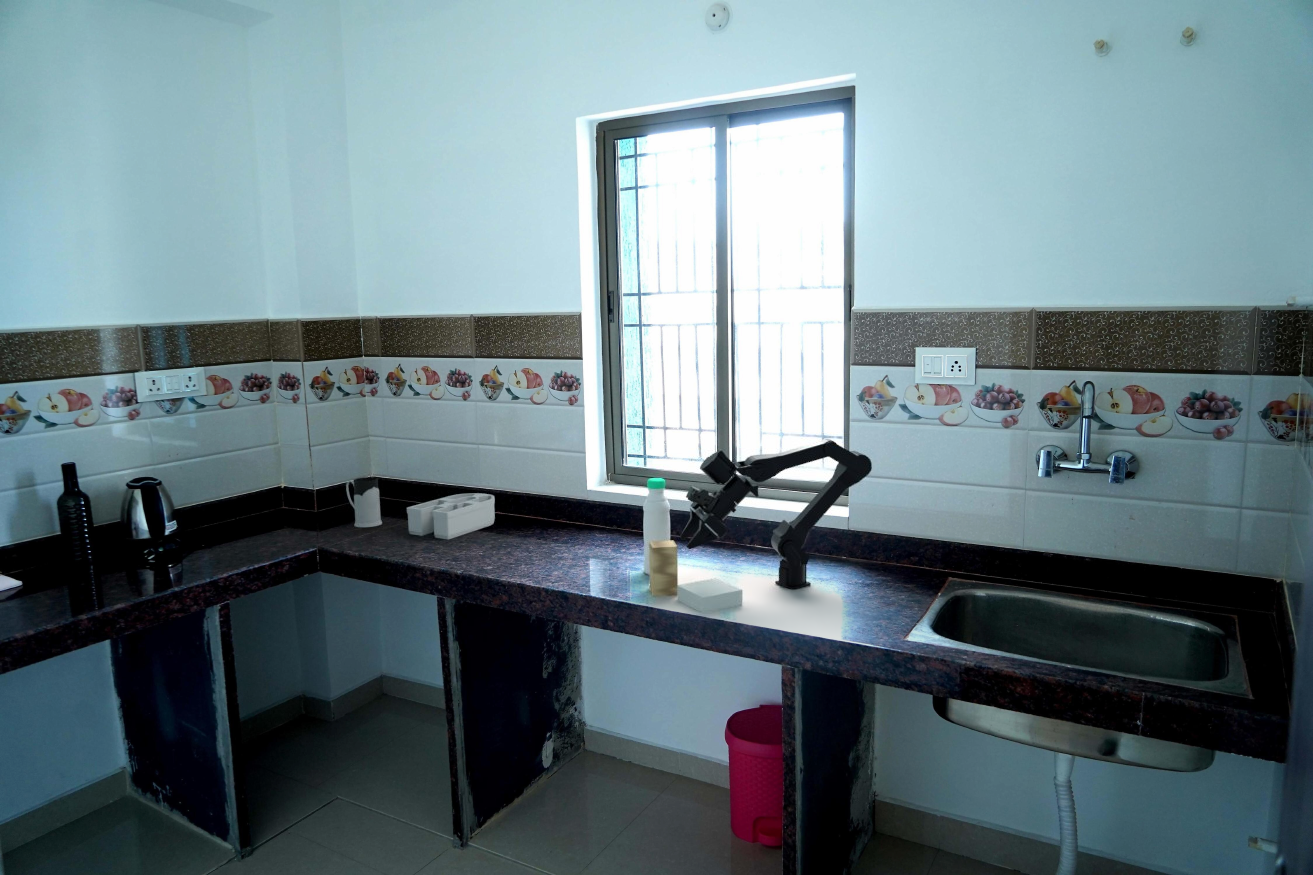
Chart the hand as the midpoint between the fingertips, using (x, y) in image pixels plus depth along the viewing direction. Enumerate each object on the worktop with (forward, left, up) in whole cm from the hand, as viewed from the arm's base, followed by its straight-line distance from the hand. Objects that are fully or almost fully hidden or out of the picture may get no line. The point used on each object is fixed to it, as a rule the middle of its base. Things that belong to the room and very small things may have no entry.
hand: (684, 543), depth 214 cm
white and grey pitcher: (+42, -121, -12) cm, 129 cm away
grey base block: (+1, +11, -12) cm, 16 cm away
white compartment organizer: (+19, -96, -12) cm, 99 cm away
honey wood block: (+5, -2, -12) cm, 13 cm away
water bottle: (-3, -16, -12) cm, 21 cm away
